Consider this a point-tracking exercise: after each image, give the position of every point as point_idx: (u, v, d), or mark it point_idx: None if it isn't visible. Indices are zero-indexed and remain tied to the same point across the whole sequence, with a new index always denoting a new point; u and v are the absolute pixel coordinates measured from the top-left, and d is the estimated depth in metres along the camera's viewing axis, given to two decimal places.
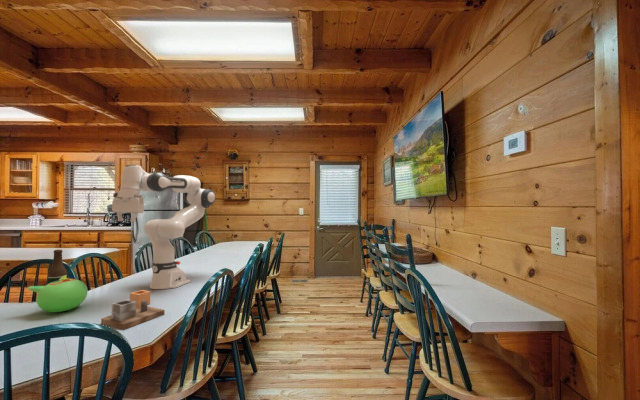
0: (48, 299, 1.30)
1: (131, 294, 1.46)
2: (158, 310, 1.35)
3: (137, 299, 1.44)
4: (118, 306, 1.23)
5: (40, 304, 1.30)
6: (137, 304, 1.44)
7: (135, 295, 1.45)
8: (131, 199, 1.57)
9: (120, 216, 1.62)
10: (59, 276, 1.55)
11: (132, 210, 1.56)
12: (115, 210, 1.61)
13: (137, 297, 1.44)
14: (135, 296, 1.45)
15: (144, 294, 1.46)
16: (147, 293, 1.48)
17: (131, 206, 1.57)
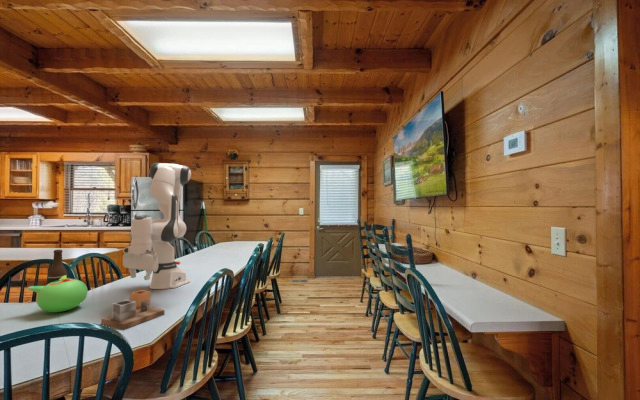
0: (48, 299, 1.30)
1: (131, 294, 1.46)
2: (158, 310, 1.35)
3: (137, 299, 1.44)
4: (118, 306, 1.23)
5: (40, 304, 1.30)
6: (137, 304, 1.44)
7: (135, 295, 1.45)
8: (144, 256, 1.44)
9: (132, 272, 1.49)
10: (59, 276, 1.55)
11: (145, 268, 1.43)
12: (127, 266, 1.48)
13: (137, 297, 1.44)
14: (135, 296, 1.45)
15: (144, 294, 1.46)
16: (147, 293, 1.48)
17: (145, 264, 1.44)
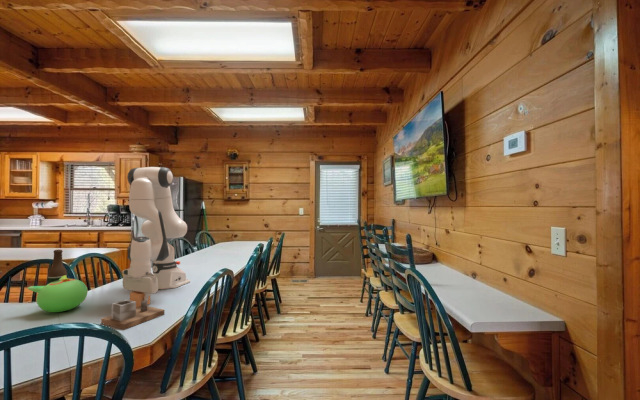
0: (48, 299, 1.30)
1: (131, 294, 1.46)
2: (158, 310, 1.35)
3: (137, 299, 1.44)
4: (118, 306, 1.23)
5: (40, 304, 1.30)
6: (137, 304, 1.44)
7: (135, 295, 1.45)
8: (143, 278, 1.44)
9: None
10: (59, 276, 1.55)
11: (145, 291, 1.44)
12: (127, 288, 1.49)
13: (137, 297, 1.44)
14: (135, 296, 1.45)
15: None
16: None
17: (144, 286, 1.44)
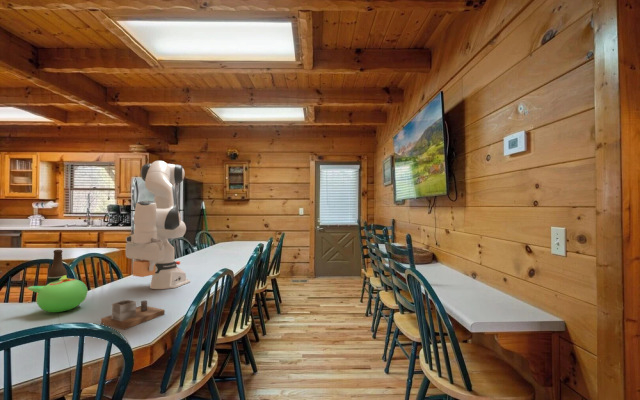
0: (48, 299, 1.30)
1: (134, 262, 1.32)
2: (158, 310, 1.35)
3: (141, 268, 1.31)
4: (118, 306, 1.23)
5: (40, 304, 1.30)
6: (141, 273, 1.31)
7: (139, 263, 1.31)
8: (148, 245, 1.31)
9: None
10: (59, 276, 1.55)
11: (150, 258, 1.30)
12: (130, 256, 1.36)
13: (141, 266, 1.31)
14: (139, 264, 1.31)
15: (149, 263, 1.33)
16: None
17: (149, 253, 1.31)
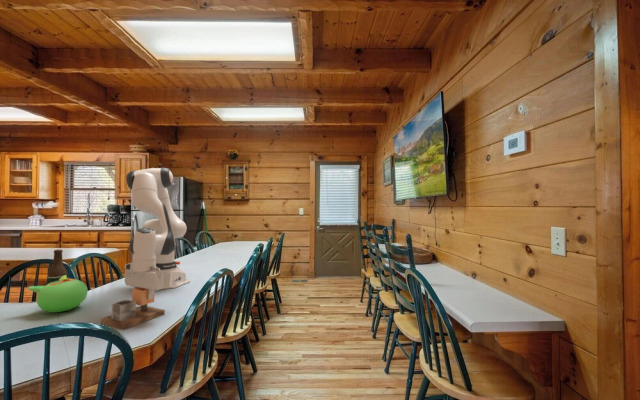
0: (48, 299, 1.30)
1: (134, 291, 1.32)
2: (158, 310, 1.35)
3: (140, 296, 1.30)
4: (118, 306, 1.23)
5: (40, 304, 1.30)
6: (140, 302, 1.30)
7: (138, 292, 1.31)
8: (147, 273, 1.31)
9: None
10: (59, 276, 1.55)
11: (149, 287, 1.30)
12: (129, 284, 1.35)
13: (140, 294, 1.31)
14: (138, 293, 1.31)
15: (148, 291, 1.33)
16: None
17: (148, 282, 1.30)
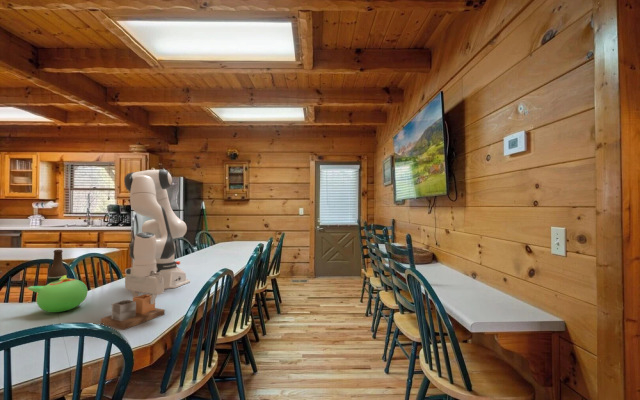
0: (48, 299, 1.30)
1: (134, 299, 1.32)
2: (158, 310, 1.35)
3: (141, 304, 1.31)
4: (118, 306, 1.23)
5: (40, 304, 1.30)
6: (141, 310, 1.31)
7: (139, 300, 1.31)
8: (148, 278, 1.31)
9: (136, 295, 1.36)
10: (59, 276, 1.55)
11: (150, 292, 1.30)
12: (129, 288, 1.35)
13: (140, 303, 1.31)
14: (139, 301, 1.31)
15: (148, 299, 1.33)
16: None
17: (149, 287, 1.31)
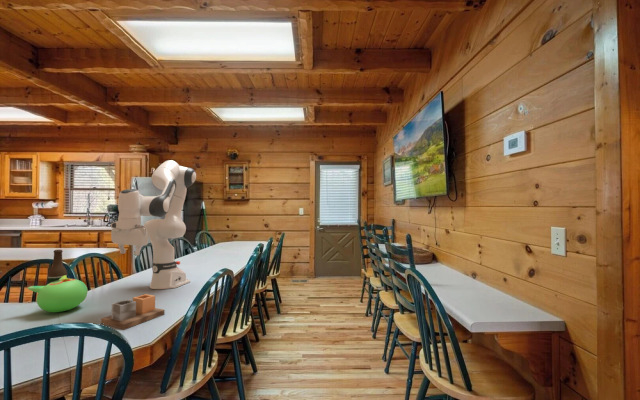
0: (48, 299, 1.30)
1: (134, 299, 1.32)
2: (158, 310, 1.35)
3: (141, 304, 1.31)
4: (118, 306, 1.23)
5: (40, 304, 1.30)
6: (141, 310, 1.31)
7: (139, 300, 1.31)
8: (132, 230, 1.39)
9: (122, 248, 1.45)
10: (59, 276, 1.55)
11: (135, 243, 1.39)
12: (115, 242, 1.44)
13: (140, 303, 1.31)
14: (139, 301, 1.31)
15: (148, 299, 1.33)
16: (152, 298, 1.34)
17: (134, 239, 1.39)
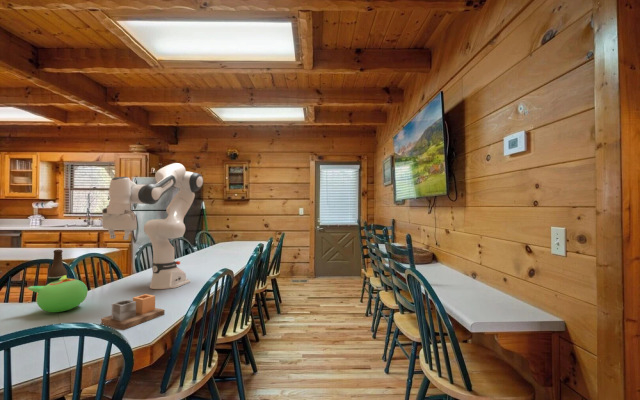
0: (48, 299, 1.30)
1: (134, 299, 1.32)
2: (158, 310, 1.35)
3: (141, 304, 1.31)
4: (118, 306, 1.23)
5: (40, 304, 1.30)
6: (141, 310, 1.31)
7: (139, 300, 1.31)
8: (122, 215, 1.45)
9: (112, 233, 1.50)
10: (59, 276, 1.55)
11: (124, 228, 1.44)
12: (106, 227, 1.49)
13: (140, 303, 1.31)
14: (139, 301, 1.31)
15: (148, 299, 1.33)
16: (152, 298, 1.34)
17: (123, 223, 1.45)
